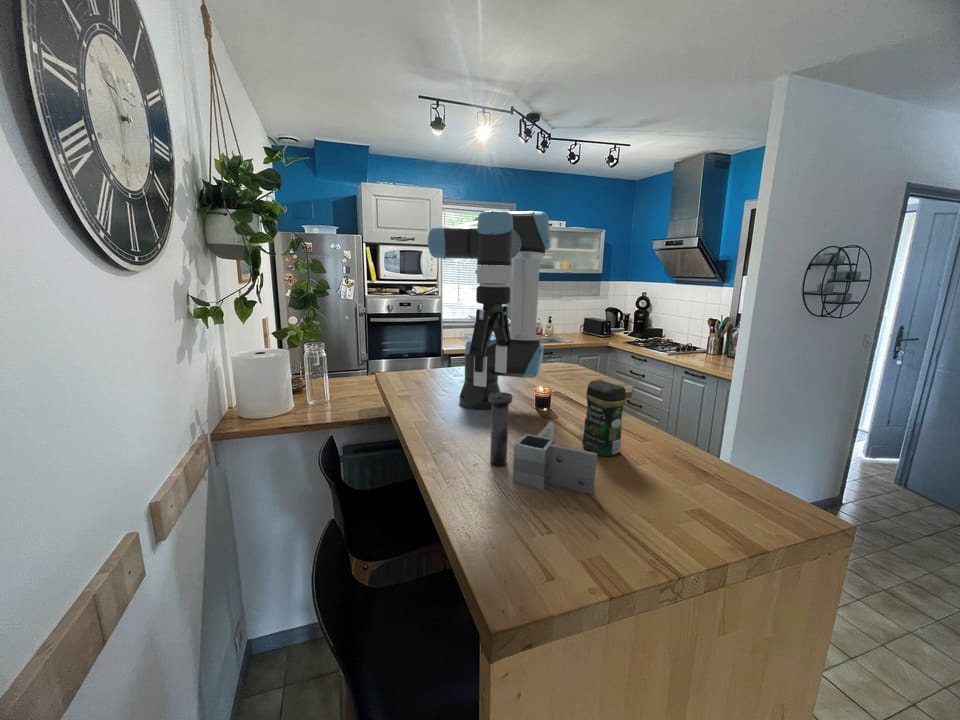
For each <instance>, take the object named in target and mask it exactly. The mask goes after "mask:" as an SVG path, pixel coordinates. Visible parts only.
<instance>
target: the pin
mask: <svg viewBox="0 0 960 720" xmlns="http://www.w3.org/2000/svg"><path fill="white" fill-rule="evenodd" d="M489 402H491V403H492V409H491V423H490V425H491V427H490V429H491V431H490V454H489V455H490V462H489V464H490V465H491V466H493V467H496V468H502V467H505V466H506V465H507V463H508V461H507V460H508V441H509V440H508V436H509V435H508V434H509V409H510V407H509V406H510V404H511V403H512V402H513V395H512V394H511V393H509V392H502V391H501V392H495V393H491V394H489Z"/></svg>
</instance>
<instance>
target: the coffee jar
mask: <svg viewBox="0 0 960 720" xmlns="http://www.w3.org/2000/svg"><path fill="white" fill-rule="evenodd" d="M626 393H627V392H626V388H625V387H624V386H622V385H617V384H615V383H612V382H608V381H605V380H604V379H603V380H602V379H598V380H597V379H596V380H590V381H589V382H588V385H587V389H586V393H585V396H586V397H585V398H586V403H587V404H586V405H587V408H586V416H585V423H584V429H583V435H582V440H581V441H582V447H584V449H587V451H589V452H594V453H597V456H598V455H599V456H601V457H613V456H616V455H617V454H619V453H620V452H621V450H622V449H621V447H622V418H623V409H624V407H625V404H626V400H627V394H626Z"/></svg>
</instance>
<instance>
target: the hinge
mask: <svg viewBox="0 0 960 720" xmlns="http://www.w3.org/2000/svg"><path fill="white" fill-rule="evenodd" d="M554 430H555V422H553V421H552V422H551V421H549V422H548V423H547V424H546V426H544V428H543V429H542V430H541V431H540V432H539V433H537V435H534V434H530V433H524V434H523V435H521V437H520V438H519V439H518V440H517V441H516V442H515V443H514V446H513V447H514V450H513V467H512V468H513V469H512V470H513V471H512V483H516V484H519V485H522V486H523V485H524V486H527V487H531V488H535V489H539V490H543V491H544V489H545V488H546V486H548V485H551V486H555V487H560V488H563V489H568V490H571V491H572V490H573V491H576V492H579V493H582V494H583V493H584V494H587V495H592V496H593V495H594V492H595V484H596V471H597V460H598V454H597V453H594V452H592V451H590V450H583V449H578V448H573V447H568V446H563V445H558V444H555V438H554V434H555V433H554V432H555V431H554Z"/></svg>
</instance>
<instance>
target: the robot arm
mask: <svg viewBox="0 0 960 720" xmlns="http://www.w3.org/2000/svg"><path fill="white" fill-rule="evenodd" d="M427 246H428V248H427V249H428V251H429V254H430V255H431V257H433V258H434V259H442V260H446V259H463V260H464V259H468V260H469V259H470V260H477V262H476V263H477V264H476V269H475V271H474V272H475V274H476V284H479V286H477V287H476V291H475V292H476V296H475V299H476V300H475V301H476V303H478V304H482V309H480V308H479V309H476V313H475V322H474V327H473V332H472V338H471V339H469V340H468V341H466V343H465V346H464V347H465V349H464V381H463V385H462V388H461V391H460V394H459V397H458V398H459V405H461V406H462V407H465V408H466V409H467V408H468V409H473V410H490V409H491V410H492V403H491V402H489V394H491V393H495V392H502V391H501V389H500V385H499V382H498V381H499V376H500V377H511V378H520V379H521V378H522V379H535V378H537V377H538V376H539V373H540V369H541V365H542V362H543V356H544V349H545V345H544V344H542V343H540V342H541V338H540V337H539V336H538V334H537V333H536V332H537V318H538V317H537V314H538V299H539V286H540V285H539V283H540V282H539V281H540V263H541V260H542V259H543V258H544V257H545V256H546V250H547V251H548V250H550V249H551V230H550V221H549V217H548V214H547V213H546V212H545V211H538V210H537V211H534V210H528V211H527V210H525V211H522V210H521V211H505V210H504V211H503V210H485V211H482V212H480V213H479V214H478V217H476V218H475V219H473V220H472V221H469V222H465V223H463V224H457V225H454V226H435V227H432V228H431V229H430V231H429V232H428V235H427ZM512 260H513V264H512ZM512 265H513V268H512ZM511 283H512V285H511V286H512V287H511V288H510V287H509V285H510V284H511ZM510 303H511V305H510V306H511V307H510V323H509V316H508V305H509V304H510ZM492 333H494V336H492V335H493V334H492Z"/></svg>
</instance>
